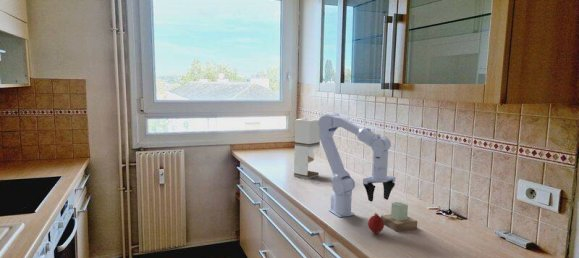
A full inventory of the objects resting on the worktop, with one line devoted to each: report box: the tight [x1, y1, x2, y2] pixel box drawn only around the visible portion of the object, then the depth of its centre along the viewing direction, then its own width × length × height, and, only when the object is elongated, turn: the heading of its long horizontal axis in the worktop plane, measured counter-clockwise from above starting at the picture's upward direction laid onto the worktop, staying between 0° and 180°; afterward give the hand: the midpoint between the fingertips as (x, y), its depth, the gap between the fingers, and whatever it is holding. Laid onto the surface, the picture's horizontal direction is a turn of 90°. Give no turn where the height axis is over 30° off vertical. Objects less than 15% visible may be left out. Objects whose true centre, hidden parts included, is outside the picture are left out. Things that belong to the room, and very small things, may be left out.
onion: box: [367, 212, 385, 235], centre depth 142 cm, size 6×6×8 cm
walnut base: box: [380, 213, 418, 233], centre depth 151 cm, size 10×10×3 cm
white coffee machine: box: [293, 117, 321, 180], centre depth 230 cm, size 11×11×35 cm
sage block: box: [390, 201, 409, 221], centre depth 151 cm, size 4×4×6 cm
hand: (378, 199), depth 153 cm, fingers open, 7 cm apart
